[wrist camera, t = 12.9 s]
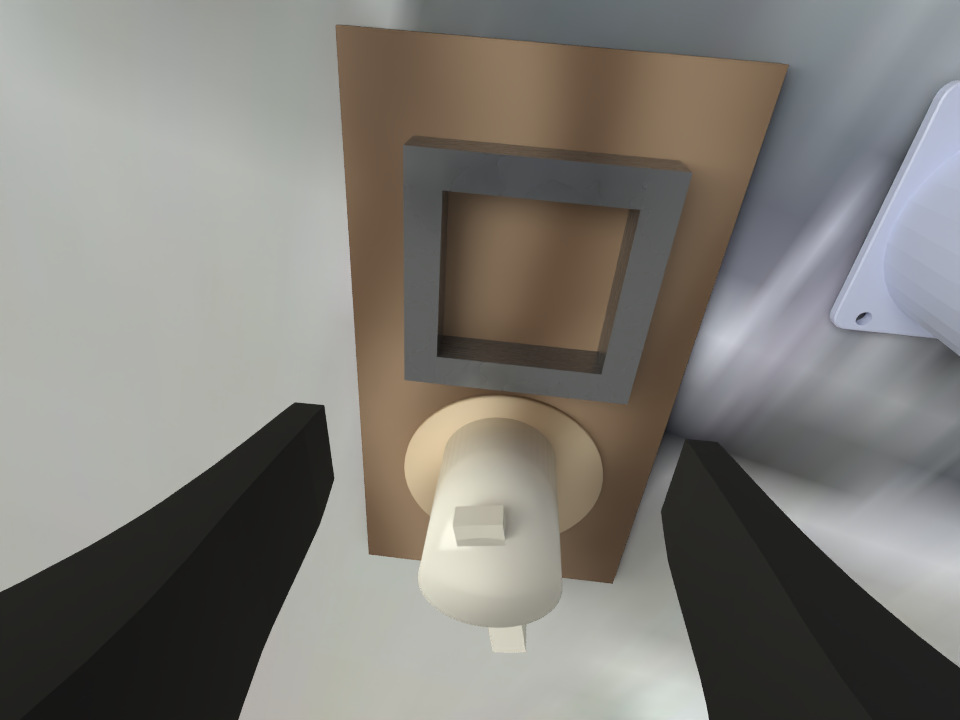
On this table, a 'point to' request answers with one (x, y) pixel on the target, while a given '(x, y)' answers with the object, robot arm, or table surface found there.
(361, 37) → the board
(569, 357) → the socket
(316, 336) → the table surface
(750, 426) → the table surface
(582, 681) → the table surface
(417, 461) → the coaster
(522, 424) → the cream tapered cylinder
